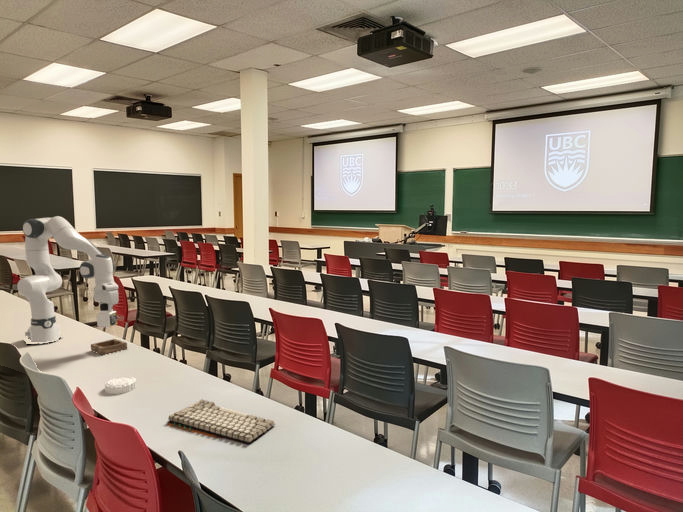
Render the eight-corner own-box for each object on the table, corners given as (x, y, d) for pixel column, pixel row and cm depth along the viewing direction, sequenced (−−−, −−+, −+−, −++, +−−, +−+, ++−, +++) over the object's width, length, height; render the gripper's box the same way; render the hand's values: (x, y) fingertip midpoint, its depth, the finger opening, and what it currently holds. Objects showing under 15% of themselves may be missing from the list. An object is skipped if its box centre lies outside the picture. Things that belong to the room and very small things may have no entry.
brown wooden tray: (91, 350, 252) (90, 344, 252) (115, 345, 262) (114, 338, 262) (102, 355, 244) (102, 348, 244) (127, 349, 254) (126, 342, 254)
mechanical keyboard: (281, 424, 166) (281, 414, 166) (248, 449, 150) (247, 439, 149) (199, 405, 183) (199, 397, 183) (161, 426, 166) (161, 417, 166)
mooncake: (102, 388, 200) (101, 380, 200) (131, 381, 208) (131, 373, 207) (109, 397, 191) (108, 388, 191) (140, 389, 199) (139, 381, 198)
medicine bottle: (110, 327, 248) (109, 304, 247) (97, 327, 248) (95, 305, 247) (117, 323, 255) (116, 302, 254) (104, 324, 255) (102, 302, 254)
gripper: (89, 284, 253) (91, 309, 255) (107, 287, 241) (109, 314, 242) (101, 282, 258) (103, 307, 260) (120, 286, 245) (121, 312, 247)
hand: (106, 310), depth 251 cm, fingers closed on medicine bottle, 6 cm apart
